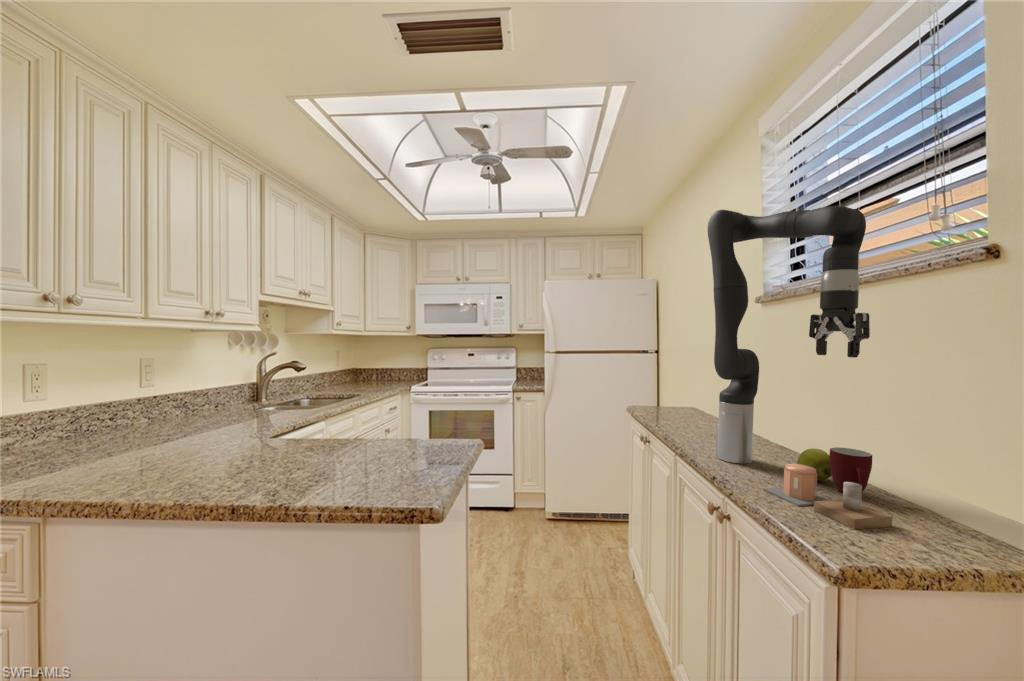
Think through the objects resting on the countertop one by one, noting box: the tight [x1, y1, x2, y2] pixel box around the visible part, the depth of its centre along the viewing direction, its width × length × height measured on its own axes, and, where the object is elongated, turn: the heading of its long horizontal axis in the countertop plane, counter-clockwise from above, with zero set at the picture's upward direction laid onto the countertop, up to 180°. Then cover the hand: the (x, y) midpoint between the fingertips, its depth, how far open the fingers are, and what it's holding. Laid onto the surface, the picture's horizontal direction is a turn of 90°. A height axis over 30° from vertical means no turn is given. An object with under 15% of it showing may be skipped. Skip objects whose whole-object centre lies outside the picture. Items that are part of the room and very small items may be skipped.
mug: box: [829, 447, 873, 495], centre depth 103 cm, size 10×8×10 cm
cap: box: [783, 463, 818, 500], centre depth 101 cm, size 6×6×6 cm
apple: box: [796, 448, 832, 481], centre depth 114 cm, size 8×9×8 cm
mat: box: [763, 486, 831, 507], centre depth 101 cm, size 10×10×1 cm
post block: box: [813, 482, 893, 530], centre depth 90 cm, size 9×9×7 cm
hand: (836, 356), depth 107 cm, fingers open, 8 cm apart
